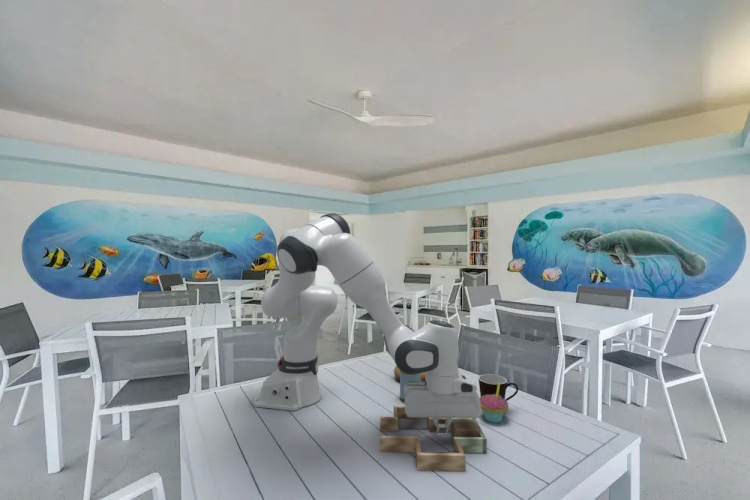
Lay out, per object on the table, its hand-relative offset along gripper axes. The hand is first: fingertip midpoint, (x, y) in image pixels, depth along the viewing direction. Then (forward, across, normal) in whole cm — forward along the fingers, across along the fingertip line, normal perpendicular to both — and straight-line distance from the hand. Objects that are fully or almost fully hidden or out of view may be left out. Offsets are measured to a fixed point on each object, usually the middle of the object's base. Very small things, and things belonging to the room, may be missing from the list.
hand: (442, 432), depth 92 cm
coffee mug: (+2, +20, +16) cm, 26 cm away
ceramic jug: (+2, -4, +42) cm, 43 cm away
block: (+2, +6, 0) cm, 6 cm away
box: (+2, -4, 0) cm, 4 cm away
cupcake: (+2, +17, +11) cm, 21 cm away
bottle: (+2, -7, +24) cm, 26 cm away
